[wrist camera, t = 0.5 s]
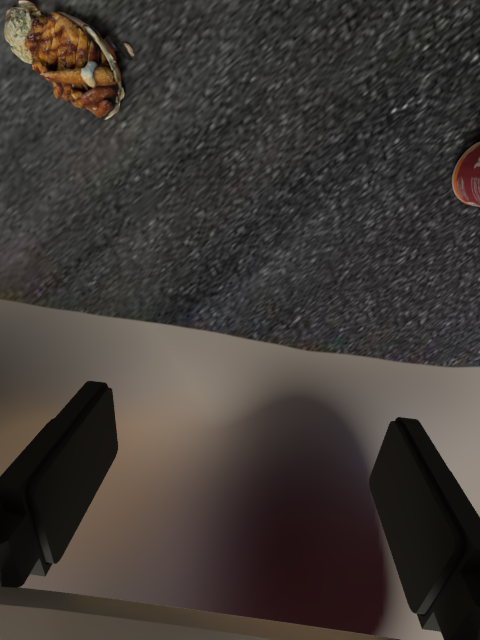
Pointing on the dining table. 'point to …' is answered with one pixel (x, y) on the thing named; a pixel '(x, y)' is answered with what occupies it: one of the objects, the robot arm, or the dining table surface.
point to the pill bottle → (468, 176)
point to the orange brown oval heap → (69, 56)
